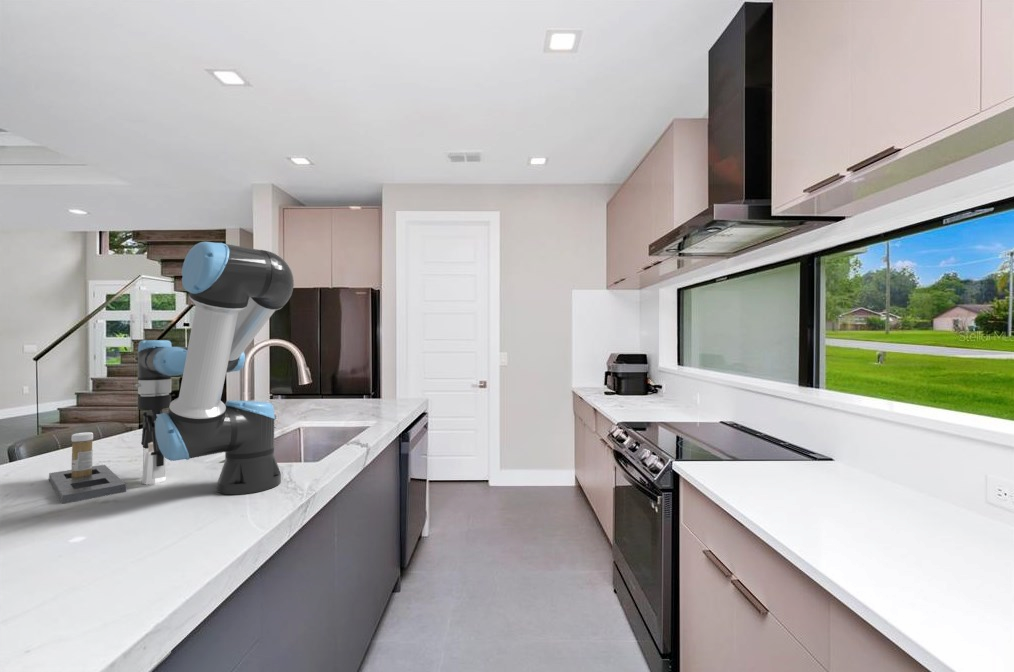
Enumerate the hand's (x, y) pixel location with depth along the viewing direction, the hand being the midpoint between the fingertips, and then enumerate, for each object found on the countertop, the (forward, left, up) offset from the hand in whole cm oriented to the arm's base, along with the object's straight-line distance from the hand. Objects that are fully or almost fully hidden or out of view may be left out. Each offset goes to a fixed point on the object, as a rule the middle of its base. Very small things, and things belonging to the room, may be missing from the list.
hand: (153, 474), depth 129 cm
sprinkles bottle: (+17, +13, -2) cm, 22 cm away
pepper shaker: (0, 0, -2) cm, 2 cm away
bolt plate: (+10, +13, -2) cm, 17 cm away
